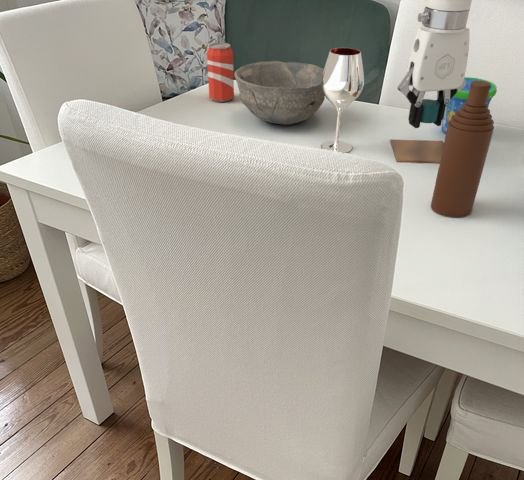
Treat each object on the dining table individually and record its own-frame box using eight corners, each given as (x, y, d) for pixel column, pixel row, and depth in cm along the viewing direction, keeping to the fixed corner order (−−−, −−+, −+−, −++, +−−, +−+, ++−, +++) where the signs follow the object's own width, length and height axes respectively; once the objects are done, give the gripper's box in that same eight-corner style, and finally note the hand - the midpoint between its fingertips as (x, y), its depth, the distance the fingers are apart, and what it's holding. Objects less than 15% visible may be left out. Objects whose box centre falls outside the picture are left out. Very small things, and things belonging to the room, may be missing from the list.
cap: (425, 124, 109) (429, 107, 107) (410, 118, 112) (413, 101, 110) (440, 121, 111) (444, 103, 109) (425, 114, 114) (428, 97, 112)
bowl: (266, 143, 119) (267, 92, 112) (218, 114, 132) (216, 68, 125) (344, 124, 127) (349, 77, 121) (291, 100, 140) (293, 55, 134)
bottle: (458, 197, 100) (489, 75, 87) (479, 215, 95) (514, 88, 82) (423, 201, 99) (448, 78, 86) (442, 219, 94) (472, 91, 81)
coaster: (442, 142, 120) (443, 140, 119) (453, 163, 111) (453, 161, 111) (390, 141, 120) (390, 139, 120) (396, 161, 112) (396, 160, 111)
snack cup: (493, 147, 118) (507, 96, 111) (441, 146, 118) (452, 95, 111) (474, 121, 129) (486, 73, 123) (428, 120, 130) (437, 72, 123)
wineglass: (317, 139, 120) (323, 45, 109) (355, 141, 120) (366, 46, 108) (315, 154, 114) (322, 56, 103) (356, 156, 114) (368, 57, 102)
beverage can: (238, 97, 142) (237, 44, 134) (224, 104, 138) (222, 49, 130) (218, 93, 144) (216, 40, 136) (204, 100, 140) (201, 46, 132)
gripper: (412, 26, 96) (394, 135, 108) (498, 21, 99) (472, 127, 111) (392, 17, 101) (377, 122, 113) (474, 12, 105) (451, 114, 117)
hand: (424, 123), depth 112 cm, fingers closed on cap, 4 cm apart
